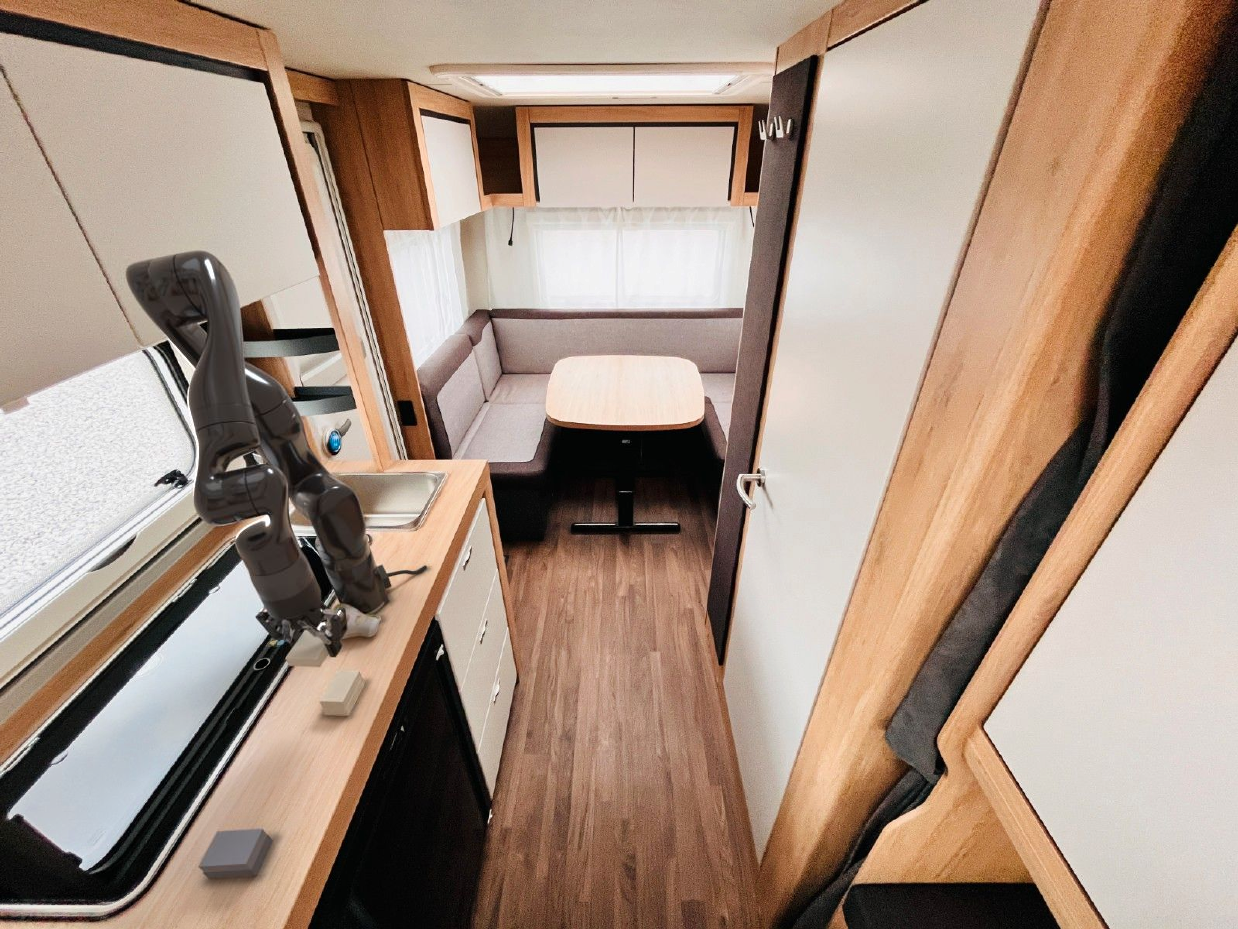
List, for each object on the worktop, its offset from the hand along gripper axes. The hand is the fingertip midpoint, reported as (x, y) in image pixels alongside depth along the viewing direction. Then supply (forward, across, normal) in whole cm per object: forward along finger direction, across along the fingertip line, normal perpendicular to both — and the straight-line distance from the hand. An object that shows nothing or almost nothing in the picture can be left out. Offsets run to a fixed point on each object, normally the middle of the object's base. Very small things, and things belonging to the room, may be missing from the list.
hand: (319, 652), depth 87 cm
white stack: (+14, 0, 0) cm, 14 cm away
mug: (+14, +5, -16) cm, 22 cm away
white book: (-1, 0, 0) cm, 1 cm away
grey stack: (+14, +2, +25) cm, 29 cm away
